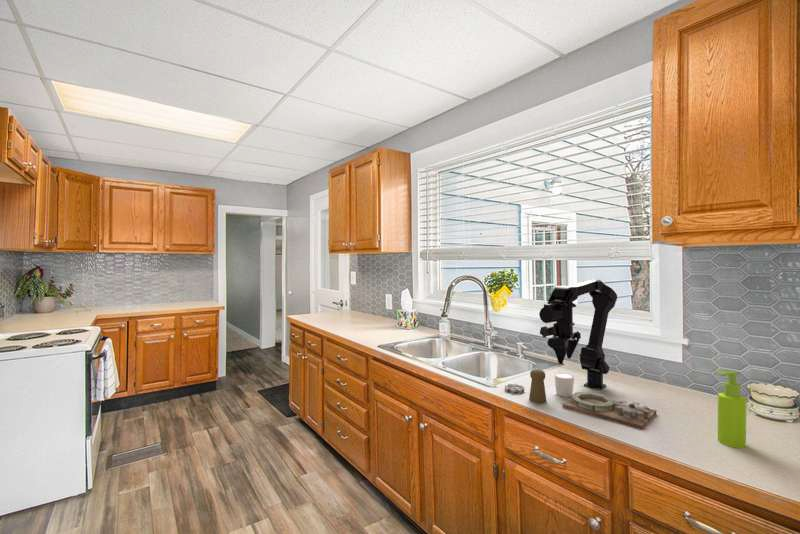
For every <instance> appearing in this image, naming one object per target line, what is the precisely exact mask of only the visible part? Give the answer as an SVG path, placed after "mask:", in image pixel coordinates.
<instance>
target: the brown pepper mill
mask: <svg viewBox="0 0 800 534" xmlns="http://www.w3.org/2000/svg"><path fill="white" fill-rule="evenodd" d="M529 377H530V378H531V383H530V389H529V390H530V391H529V398H528V400H529V401H530V402H531V403H534V404H545V403H547V402H548V401H547V393H546V387H545V379H546V372H545V371H544V370H542V369H536V368H535V369H532V370H531V371H530V372H529Z"/></svg>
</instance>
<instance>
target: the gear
mask: <svg viewBox="0 0 800 534" xmlns="http://www.w3.org/2000/svg"><path fill="white" fill-rule="evenodd" d="M505 389H506V390H505ZM504 390H505V392H506V391H507V392H506V393H510V392H511V393H515V394H518V393H522V394H523V392H524V391H525V387H524V385H521V384H520V385H519V384H517V383H514V384H513V383H507V384H505V385H504ZM511 393H510V394H511ZM524 393H525V392H524Z"/></svg>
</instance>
